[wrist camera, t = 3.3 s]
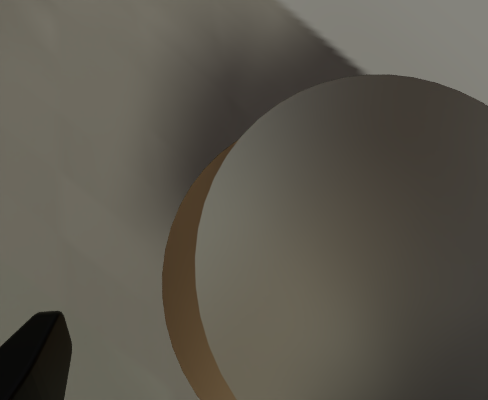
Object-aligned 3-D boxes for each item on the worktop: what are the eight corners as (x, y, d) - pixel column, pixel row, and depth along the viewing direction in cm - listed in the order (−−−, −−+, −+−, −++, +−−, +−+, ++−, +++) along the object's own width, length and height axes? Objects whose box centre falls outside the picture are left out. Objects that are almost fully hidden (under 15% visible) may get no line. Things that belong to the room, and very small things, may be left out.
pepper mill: (338, 274, 17) (705, 182, 4) (278, 389, 16) (559, 712, 3) (233, 211, 17) (302, -41, 5) (166, 319, 16) (19, 364, 3)
